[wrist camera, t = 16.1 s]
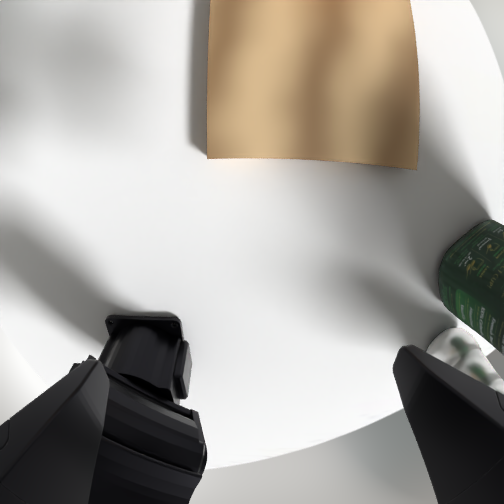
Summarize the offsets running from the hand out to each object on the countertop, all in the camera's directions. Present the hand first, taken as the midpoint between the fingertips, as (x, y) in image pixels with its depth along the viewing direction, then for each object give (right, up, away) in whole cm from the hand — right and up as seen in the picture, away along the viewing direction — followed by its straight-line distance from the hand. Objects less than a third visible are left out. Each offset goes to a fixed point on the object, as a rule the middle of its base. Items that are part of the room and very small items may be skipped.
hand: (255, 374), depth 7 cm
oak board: (+4, +20, +6) cm, 21 cm away
